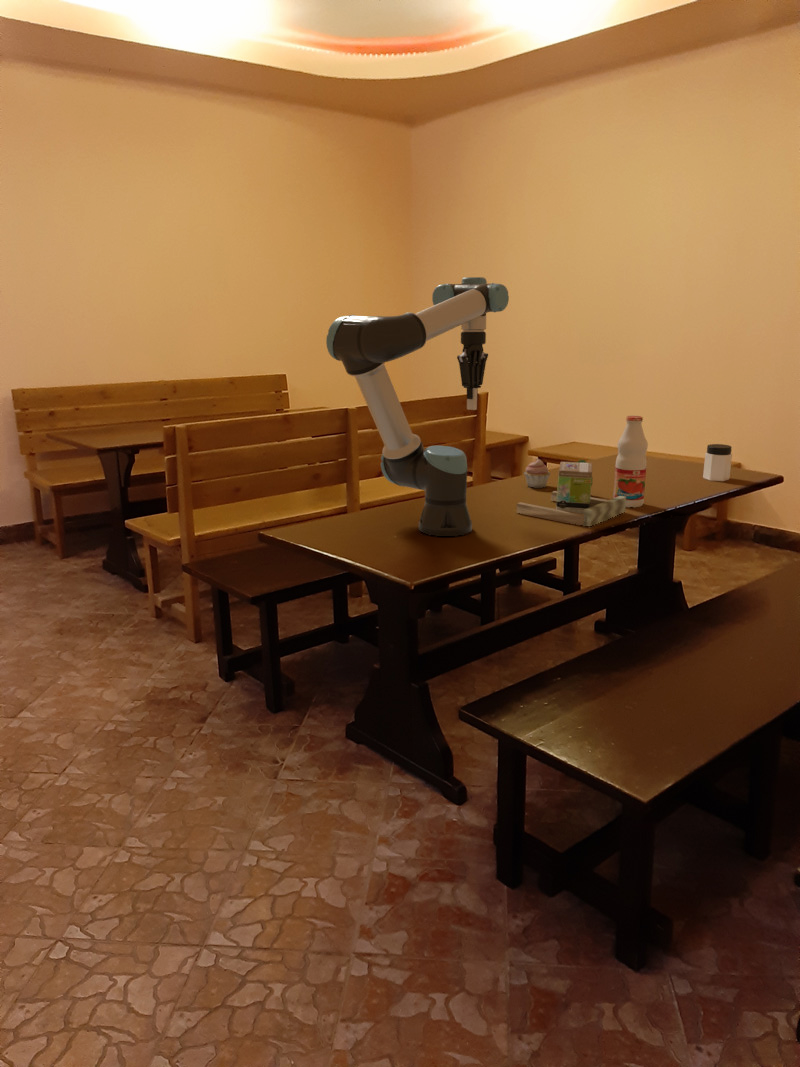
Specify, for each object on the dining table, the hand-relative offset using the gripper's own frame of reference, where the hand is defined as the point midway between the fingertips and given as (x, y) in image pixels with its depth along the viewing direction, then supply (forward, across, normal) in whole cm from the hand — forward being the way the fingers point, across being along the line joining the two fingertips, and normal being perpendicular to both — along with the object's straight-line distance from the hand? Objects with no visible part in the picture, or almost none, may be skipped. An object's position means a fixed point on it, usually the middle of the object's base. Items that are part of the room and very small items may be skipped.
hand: (471, 409), depth 257 cm
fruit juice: (+31, -33, +38) cm, 59 cm away
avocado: (+31, -34, +20) cm, 50 cm away
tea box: (+31, -12, +30) cm, 45 cm away
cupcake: (+31, -36, +2) cm, 47 cm away
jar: (+31, -88, +45) cm, 103 cm away
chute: (+30, -12, +29) cm, 44 cm away
